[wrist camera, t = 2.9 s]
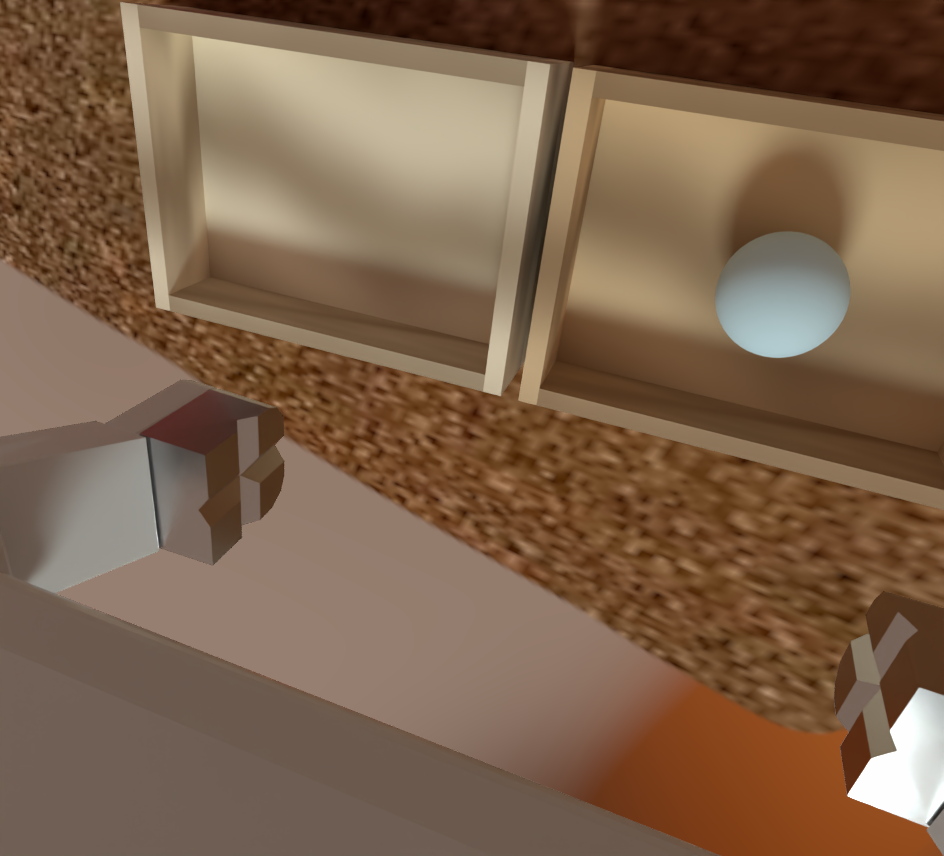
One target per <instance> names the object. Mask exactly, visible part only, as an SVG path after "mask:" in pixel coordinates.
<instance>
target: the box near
mask: <svg viewBox="0 0 944 856" xmlns="http://www.w3.org/2000/svg"><path fill="white" fill-rule="evenodd" d="M782 231H793V232H801V233H805V234H809V235H812V236H814V237H817V238H819V239H820V240H822V241H824V242H826V243H827V244H828V245H829V246H831V247H832V248H833V249H834V250H835V251H836V252H837V254H838V255H839V256H840V258H841V259H842V260H843V262H844V264H845V266H846V268H847V271H848V275H849V279H850V286H851V295H850V301H849V305H848V309H847V312H846V314H845V316H844V318H843V321H842V322H841V324H840V325H839V327H838V328H837V329H836V331H835V332H834V333H833V334H832V335H831V336H830V337H829V338H828V339H827V340H826V341H824V342H823V343H822V344H820V345H819V346H817V347H816V348H814V349H812V350H810V351H808V352H805V353H803V354H800V355H796V356H791V357H784V358H771V357H765V356H760V355H757V354H754V353H752V352H749V351H747V350H745V349H744V348H742V347H740V346H739V345H738V344H736V343H735V342H734V341H733V340H732V339H731V338H730V337H729V336H728V335H727V333H726V332H725V330H724V329H723V327H722V325H721V323H720V321H719V319H718V316H717V311H716V306H715V292H716V286H717V282H718V280H719V277H720V274H721V272H722V270H723V268H724V266H725V265H726V263H727V262H728V261H729V259H730V258H731V257H732V256H733V255H734V254H735V253H736V252H737V251H738V250H739V249H740V248H741V247H743V246H744V245H746V244H747V243H749V242H750V241H752V240H754V239H756V238H758V237H761V236H763V235H766V234H770V233H774V232H782ZM518 401H522V402H526V403H530V404H534V405H538V406H542V407H545V408H549V409H553V410H557V411H561V412H565V413H569V414H573V415H577V416H580V417H584V418H588V419H592V420H596V421H600V422H604V423H608V424H612V425H615V426H619V427H623V428H627V429H631V430H635V431H639V432H643V433H647V434H650V435H654V436H658V437H662V438H666V439H670V440H674V441H678V442H682V443H685V444H689V445H693V446H697V447H701V448H705V449H709V450H713V451H717V452H720V453H724V454H728V455H732V456H736V457H740V458H744V459H748V460H752V461H755V462H759V463H763V464H767V465H771V466H775V467H779V468H783V469H787V470H790V471H794V472H798V473H802V474H806V475H810V476H814V477H818V478H822V479H825V480H829V481H833V482H837V483H841V484H845V485H849V486H853V487H857V488H860V489H864V490H868V491H872V492H876V493H880V494H884V495H888V496H892V497H895V498H899V499H903V500H907V501H911V502H915V503H919V504H923V505H927V506H930V507H934V508H938V509H942V510H944V115H941V114H934V113H927V112H920V111H913V110H906V109H899V108H892V107H885V106H878V105H871V104H864V103H857V102H850V101H843V100H836V99H829V98H822V97H815V96H808V95H801V94H794V93H787V92H780V91H773V90H766V89H759V88H752V87H745V86H738V85H731V84H724V83H717V82H710V81H703V80H696V79H689V78H682V77H675V76H668V75H661V74H654V73H647V72H640V71H633V70H626V69H619V68H612V67H605V66H598V65H590V66H582V67H574V68H573V72H572V78H571V84H570V90H569V96H568V102H567V108H566V114H565V120H564V126H563V132H562V138H561V145H560V151H559V157H558V163H557V169H556V175H555V181H554V187H553V193H552V199H551V205H550V211H549V217H548V223H547V230H546V236H545V242H544V248H543V254H542V260H541V266H540V272H539V278H538V284H537V290H536V296H535V302H534V309H533V315H532V321H531V327H530V333H529V339H528V345H527V351H526V357H525V363H524V369H523V375H522V381H521V388H520V394H519V400H518Z"/></svg>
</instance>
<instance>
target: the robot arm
mask: <svg viewBox="0 0 944 856" xmlns="http://www.w3.org/2000/svg"><path fill="white" fill-rule="evenodd" d="M283 436H284V421H283V414H282V413H281V412H280V411H279V409H278V408H277V407H274V406H271V405H268V404H265V403H261V402H258V401H255V400H252V399H249V398H246V397H243V396H240V395H237V394H234V393H231V392H228V391H225V390H221V389H217V388H215V387H212V386H209V385H205V384H202V383H199V382H195V381H192V380H180V381H178V382H176V383H175V384H173V385H171V386H169V387H167V388H166V389H164V390H163V391H160V392H159V393H157V394H155V395H154V396H152V397H150V398H148V399H147V400H145V401H143V402H141V403H140V404H138V405H136V406H135V407H133V408H131V409H129V410H128V411H126V412H124V413H122V414H121V415H119V416H117V417H116V418H114V419H112V420H110V421H109V422H107V423H105V424H103V423H100V422H97V421H92V422H87V423H80V424H74V425H68V426H62V427H57V428H50V429H45V430H38V431H32V432H26V433H21V434H14V435H8V436H2V437H0V856H720V855H717V854H715V853H712V852H710V851H707V850H704V849H702V848H699V847H697V846H695V845H692V844H690V843H687V842H684V841H682V840H679V839H677V838H674V837H672V836H669V835H667V834H664V833H662V832H659V831H657V830H654V829H652V828H649V827H647V826H644V825H641V824H639V823H637V822H634V821H631V820H629V819H626V818H624V817H621V816H619V815H616V814H614V813H611V812H609V811H606V810H604V809H601V808H598V807H596V806H594V805H591V804H588V803H586V802H584V801H581V800H578V799H576V798H573V797H571V796H568V795H566V794H563V793H561V792H558V791H556V790H553V789H551V788H548V787H546V786H543V785H541V784H538V783H536V782H533V781H531V780H528V779H525V778H523V777H520V776H518V775H515V774H513V773H510V772H508V771H505V770H502V769H500V768H497V767H495V766H492V765H490V764H487V763H485V762H482V761H480V760H477V759H474V758H472V757H469V756H467V755H464V754H462V753H459V752H457V751H454V750H452V749H449V748H447V747H444V746H442V745H439V744H436V743H434V742H431V741H428V740H426V739H424V738H421V737H419V736H416V735H414V734H411V733H408V732H406V731H403V730H400V729H398V728H396V727H393V726H391V725H388V724H386V723H383V722H380V721H378V720H375V719H373V718H370V717H368V716H365V715H363V714H360V713H358V712H355V711H352V710H350V709H347V708H345V707H342V706H340V705H337V704H335V703H332V702H330V701H327V700H325V699H322V698H319V697H317V696H314V695H312V694H309V693H307V692H304V691H301V690H299V689H297V688H294V687H291V686H289V685H286V684H284V683H281V682H279V681H276V680H274V679H271V678H268V677H266V676H264V675H261V674H258V673H256V672H253V671H251V670H248V669H245V668H243V667H241V666H238V665H236V664H233V663H230V662H228V661H225V660H223V659H220V658H218V657H215V656H213V655H210V654H208V653H205V652H203V651H200V650H197V649H195V648H192V647H190V646H187V645H185V644H182V643H180V642H177V641H175V640H172V639H170V638H167V637H165V636H162V635H159V634H157V633H154V632H152V631H149V630H147V629H144V628H142V627H139V626H137V625H134V624H132V623H129V622H126V621H124V620H121V619H119V618H116V617H114V616H111V615H109V614H106V613H104V612H101V611H99V610H96V609H93V608H91V607H88V606H86V605H83V604H81V603H78V602H76V601H73V600H70V599H68V598H66V597H63V596H61V595H58V594H55V593H57V592H59V591H62V590H64V589H67V588H69V587H72V586H74V585H77V584H79V583H82V582H84V581H87V580H89V579H91V578H94V577H96V576H99V575H101V574H104V573H106V572H109V571H111V570H114V569H116V568H118V567H121V566H123V565H126V564H128V563H131V562H133V561H136V560H138V559H141V558H143V557H145V556H148V555H151V554H153V553H156V552H158V551H159V548H161V549H164V550H167V551H170V552H173V553H176V554H179V555H183V556H185V557H188V558H191V559H195V560H197V561H200V562H203V563H207V564H210V565H214V564H215V563H216V562H217V561H218V560H219V559H220V558H221V557H222V556H223V555H224V554H225V553H227V551H229V550H230V549H231V548H232V547H233V546H234V545H235V544H236V543H237V542H238V541H239V540H240V539H241V538H242V525H245V524H248V523H251V522H254V521H258V520H260V519H261V518H263V517H264V515H265V514H266V513H267V512H268V511H269V510H270V509H271V508H272V506H273V505H274V503H275V501H276V499H277V497H278V495H279V493H280V491H281V487H282V483H283V478H284V460H283V458H282V457H281V455H280V453H279V451H278V450H277V448H276V446H275V445H276V444H277V442H278V441H279V440H280V439H281V438H282V437H283ZM866 620H867V625H868V630H869V634H867V635H864V636H862V637H860V638H857V639H855V640H853V641H850V643H849V645H848V647H847V649H846V651H845V653H844V655H843V657H842V659H841V661H840V664H839V668H838V672H837V676H836V680H835V688H834V704H835V712H836V717H837V718H838V719H839V720H840V722H841V723H842V724H843V726H844V727H845V728H846V729H847V731H848V732H849V733H848V734H847V736H846V738H845V739H844V741H843V743H842V745H841V746H840V750H841V757H842V763H843V770H844V777H845V784H846V791H847V796H849V797H852V798H854V799H857V800H860V801H862V802H865V803H867V804H870V805H872V806H875V807H878V808H880V809H883V810H885V811H888V812H890V813H893V814H896V815H898V816H901V817H903V818H906V819H908V820H911V821H914V822H916V823H919V824H921V825H924V826H926V827H929V828H928V829H927V832H928V833H929V834H930V836H931V838H932V839H933V841H934V842H935V844H936V845H937V847H938V848H939V850H940V851H941V852H942V854H943V855H944V608H942V607H938V606H935V605H931V604H928V603H924V602H921V601H917V600H914V599H910V598H907V597H903V596H899V595H896V594H892V593H889V592H885V591H883V592H882V593H881V594H880V595H879V596H878V597H877V598H876V599H875V600H874V601H873V603H872V605H871V606H870V608H869V610H868V612H867V613H866Z"/></svg>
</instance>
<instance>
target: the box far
mask: <svg viewBox="0 0 944 856" xmlns="http://www.w3.org/2000/svg"><path fill="white" fill-rule="evenodd" d="M120 5H121V13H122V22H123V30H124V39H125V47H126V56H127V64H128V73H129V81H130V90H131V98H132V107H133V115H134V124H135V132H136V141H137V149H138V158H139V166H140V175H141V183H142V192H143V200H144V209H145V217H146V225H147V234H148V242H149V251H150V259H151V268H152V276H153V285H154V293H155V302H156V307H157V308H161V309H164V310H168V311H172V312H176V313H180V314H184V315H188V316H192V317H196V318H199V319H203V320H207V321H211V322H215V323H219V324H223V325H227V326H231V327H234V328H238V329H242V330H246V331H250V332H254V333H258V334H262V335H266V336H269V337H273V338H277V339H281V340H285V341H289V342H293V343H297V344H301V345H304V346H308V347H312V348H316V349H320V350H324V351H328V352H332V353H336V354H339V355H343V356H347V357H351V358H355V359H359V360H363V361H367V362H371V363H374V364H378V365H382V366H386V367H390V368H394V369H398V370H402V371H406V372H409V373H413V374H417V375H421V376H425V377H429V378H433V379H437V380H441V381H444V382H448V383H452V384H456V385H460V386H464V387H468V388H472V389H476V390H479V391H483V392H487V393H491V394H495V395H499V396H501V395H502V393H503V392H504V390H505V389H506V387H507V386H508V385H509V383H510V382H511V380H512V379H513V377H514V376H515V375H516V373H517V372H518V370H519V369H520V367H521V366H522V365H523V363H524V362H525V357H526V350H527V344H528V338H529V332H530V326H531V320H532V314H533V308H534V302H535V296H536V290H537V284H538V278H539V271H540V265H541V259H542V253H543V247H544V241H545V235H546V229H547V223H548V217H549V211H550V205H551V198H552V192H553V186H554V180H555V174H556V168H557V162H558V156H559V150H560V144H561V138H562V132H563V126H564V119H565V113H566V107H567V101H568V95H569V89H570V83H571V77H572V71H573V65H574V62H570V61H563V60H556V59H549V58H542V57H535V56H528V55H521V54H514V53H507V52H500V51H493V50H486V49H479V48H472V47H465V46H458V45H451V44H444V43H437V42H430V41H423V40H416V39H409V38H402V37H395V36H388V35H381V34H374V33H367V32H360V31H353V30H346V29H339V28H332V27H325V26H318V25H311V24H304V23H297V22H290V21H283V20H276V19H269V18H262V17H255V16H248V15H241V14H234V13H227V12H220V11H213V10H206V9H199V8H192V7H184V6H170V5H155V4H141V3H126V2H120Z"/></svg>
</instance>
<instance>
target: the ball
mask: <svg viewBox="0 0 944 856" xmlns="http://www.w3.org/2000/svg"><path fill="white" fill-rule="evenodd" d="M850 295H851V286H850V279H849V275H848V271H847V268H846V266H845V264H844V262H843V260H842V259H841V258H840V256H839V255H838V254H837V252H836V251H835V250H834V249H833V248H832V247H831V246H829V245H828V244H827V243H826V242H824V241H822V240H820V239H819V238H817V237H814V236H812V235H809V234H805V233H801V232H793V231H782V232H774V233H770V234H766V235H763V236H761V237H758V238H756V239H754V240H752V241H750V242H749V243H747V244H746V245H744V246H743V247H741V248H740V249H739V250H738V251H737V252H736V253H735V254H734V255H733V256H732V257H731V258H730V259H729V261H728V262H727V263H726V265H725V266H724V268H723V270H722V272H721V274H720V277H719V280H718V282H717V286H716V292H715V306H716V311H717V316H718V319H719V321H720V323H721V325H722V327H723V329H724V330H725V332H726V333H727V335H728V336H729V337H730V338H731V339H732V340H733V341H734V342H735V343H736V344H738V345H739V346H740V347H742V348H744V349H745V350H747V351H749V352H752V353H754V354H757V355H760V356H765V357H771V358H784V357H791V356H796V355H800V354H803V353H805V352H808V351H810V350H812V349H814V348H816V347H817V346H819V345H820V344H822V343H823V342H824V341H826V340H827V339H828V338H829V337H830V336H831V335H832V334H833V333H834V332H835V331H836V329H837V328H838V327H839V325H840V324H841V322H842V321H843V318H844V316H845V314H846V312H847V309H848V305H849V301H850Z"/></svg>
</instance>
